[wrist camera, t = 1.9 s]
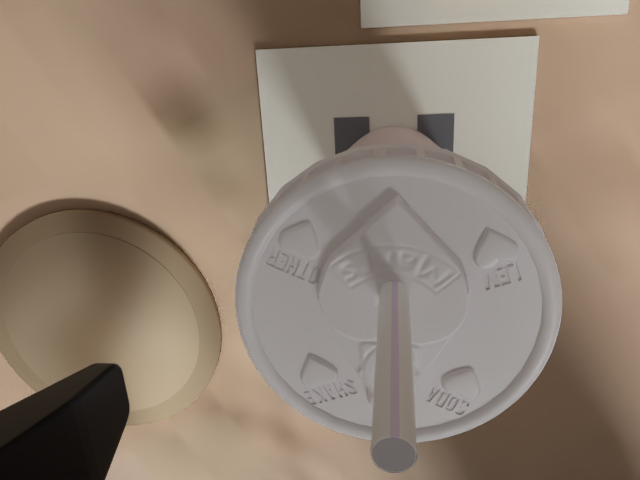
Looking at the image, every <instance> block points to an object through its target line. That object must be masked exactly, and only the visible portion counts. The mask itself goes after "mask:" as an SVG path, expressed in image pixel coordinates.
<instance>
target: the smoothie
mask: <svg viewBox="0 0 640 480" xmlns="http://www.w3.org/2000/svg"><path fill="white" fill-rule="evenodd" d="M235 307H236V316H237V322H238V326H239V330H240V334H241V337H242V340H243V343H244V345H245V348H246V350H247V352H248V354H249V356H250V358H251V360H252V362H253V363H254V365H255V367H256V369H257V370H258V371H259V373H260V374H261V376H262V377H263V378H264V380H265V381H266V382H267V383H268V385H269V386H270V387H271V388H272V389H273V390H274V391H275V392H276V393H277V394H278V395H279V396H280V397H281V398H282V399H283V400H284V401H285V402H287V403H288V404H289V405H290V406H292V407H293V408H294V409H295V410H297V411H298V412H300V413H301V414H303V415H304V416H306V417H308V418H309V419H311V420H313V421H315V422H316V423H318V424H320V425H323V426H325V427H327V428H329V429H331V430H334V431H337V432H339V433H342V434H345V435H349V436H352V437H356V438H360V439H365V440H370V441H371V458H372V461H373V462H374V464H375V465H376V466H377V467H378V468H380V469H382V470H384V471H386V472H391V473H400V472H404V471H407V470H409V469H410V468H411V467H413V465H414V464H415V462H416V460H417V443H418V442H426V441H433V440H438V439H443V438H447V437H450V436H454V435H458V434H460V433H463V432H466V431H468V430H471V429H473V428H475V427H477V426H480V425H482V424H484V423H486V422H487V421H489V420H491V419H493V418H494V417H496V416H498V415H499V414H500V413H502V412H503V411H505V410H506V409H507V408H509V407H510V406H511V405H512V404H513V403H515V402H516V401H517V400H518V399H519V398H520V397H521V396H522V395H523V394H524V393H525V392H526V391H527V390H528V389H529V388H530V387H531V385H532V384H533V383H534V382H535V380H536V379H537V378H538V376H539V375H540V373H541V372H542V370H543V368H544V367H545V365H546V363H547V361H548V359H549V357H550V355H551V353H552V351H553V348H554V345H555V343H556V340H557V337H558V332H559V328H560V324H561V316H562V288H561V280H560V276H559V271H558V267H557V264H556V261H555V258H554V255H553V253H552V250H551V248H550V246H549V244H548V242H547V240H546V238H545V234H544V231H543V228H542V227H541V225H540V224H539V222H538V221H537V219H536V218H535V216H534V215H533V213H532V212H531V210H530V209H529V207H528V206H527V204H526V203H525V201H524V200H523V198H522V197H521V196H520V194H518V193H517V192H516V191H515V190H514V189H512V188H511V187H510V186H509V185H508V184H506V183H505V182H504V181H503V180H502V179H500V178H499V177H498V176H497V175H496V174H494V173H493V172H492V171H491V170H489V169H488V168H487V167H485V166H483V165H481V164H478V163H476V162H474V161H472V160H469V159H467V158H465V157H463V156H460V155H458V154H456V153H454V152H451V151H449V150H447V149H442V148H440V147H439V146H438V145H437V144H435V143H434V142H433V141H432V140H431V139H429V138H428V137H427V136H425V135H424V134H422V133H420V132H418V131H416V130H413V129H410V128H406V127H398V126H391V127H384V128H380V129H377V130H374V131H372V132H370V133H368V134H366V135H365V136H363V137H362V138H360V139H359V140H358V141H357V142H356V143H355V144H353V145H352V146H351V147H350V148H349V149H348V150H346V151H344V152H341V153H338V154H336V155H333V156H330V157H328V158H325V159H322V160H320V161H317V162H315V163H314V164H312V165H311V166H310V167H308V168H307V169H306V170H304V171H303V172H301V173H300V174H299V175H297V176H296V177H295V178H293V179H292V180H290V181H289V182H288V183H286V184H285V185H284V186H282V188H281V189H280V190H279V191H278V193H277V194H276V195H275V197H274V198H273V199H272V200H271V202H270V203H269V204H268V205H267V207H266V208H265V209H264V211H263V212H262V213H261V214H260V216H259V217H258V219H257V222H256V224H255V227H254V229H253V232H252V234H251V236H250V238H249V240H248V243H247V245H246V247H245V249H244V252H243V255H242V258H241V261H240V264H239V268H238V273H237V278H236V288H235Z"/></svg>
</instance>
